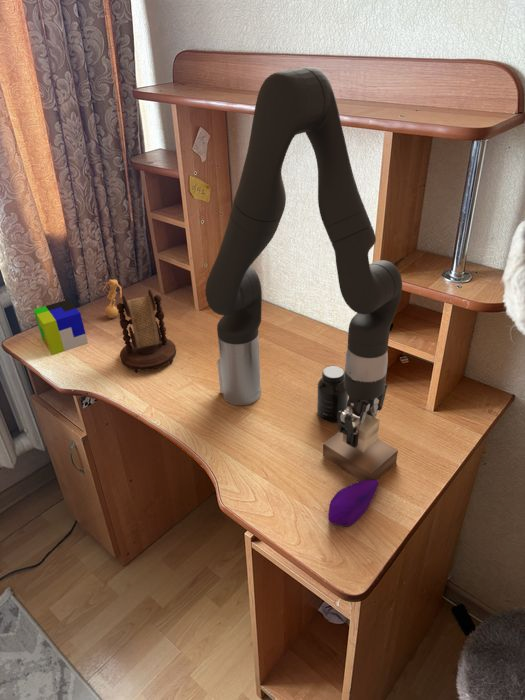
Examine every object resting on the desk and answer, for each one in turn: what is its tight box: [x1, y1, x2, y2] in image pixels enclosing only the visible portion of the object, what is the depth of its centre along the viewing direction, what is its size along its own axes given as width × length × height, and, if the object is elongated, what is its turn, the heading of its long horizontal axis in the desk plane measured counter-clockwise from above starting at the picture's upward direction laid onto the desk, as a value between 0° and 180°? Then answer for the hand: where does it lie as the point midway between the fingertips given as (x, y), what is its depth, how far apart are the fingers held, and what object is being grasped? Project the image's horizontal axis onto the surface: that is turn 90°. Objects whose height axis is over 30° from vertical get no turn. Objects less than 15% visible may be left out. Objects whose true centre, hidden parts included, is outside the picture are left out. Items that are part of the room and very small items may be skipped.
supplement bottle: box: [316, 365, 349, 423], centre depth 121 cm, size 7×7×12 cm
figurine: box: [102, 279, 123, 319], centre depth 162 cm, size 8×6×12 cm
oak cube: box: [342, 414, 380, 452], centre depth 106 cm, size 5×5×5 cm
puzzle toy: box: [33, 299, 89, 356], centre depth 152 cm, size 10×10×10 cm
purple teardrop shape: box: [327, 479, 380, 527], centre depth 100 cm, size 5×5×15 cm
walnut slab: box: [322, 431, 399, 482], centre depth 111 cm, size 12×9×4 cm
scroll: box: [116, 288, 177, 374], centre depth 140 cm, size 15×15×20 cm
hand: (359, 437), depth 107 cm, fingers closed on oak cube, 5 cm apart
